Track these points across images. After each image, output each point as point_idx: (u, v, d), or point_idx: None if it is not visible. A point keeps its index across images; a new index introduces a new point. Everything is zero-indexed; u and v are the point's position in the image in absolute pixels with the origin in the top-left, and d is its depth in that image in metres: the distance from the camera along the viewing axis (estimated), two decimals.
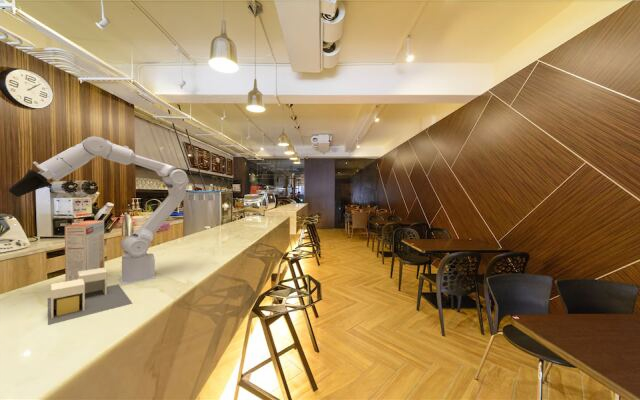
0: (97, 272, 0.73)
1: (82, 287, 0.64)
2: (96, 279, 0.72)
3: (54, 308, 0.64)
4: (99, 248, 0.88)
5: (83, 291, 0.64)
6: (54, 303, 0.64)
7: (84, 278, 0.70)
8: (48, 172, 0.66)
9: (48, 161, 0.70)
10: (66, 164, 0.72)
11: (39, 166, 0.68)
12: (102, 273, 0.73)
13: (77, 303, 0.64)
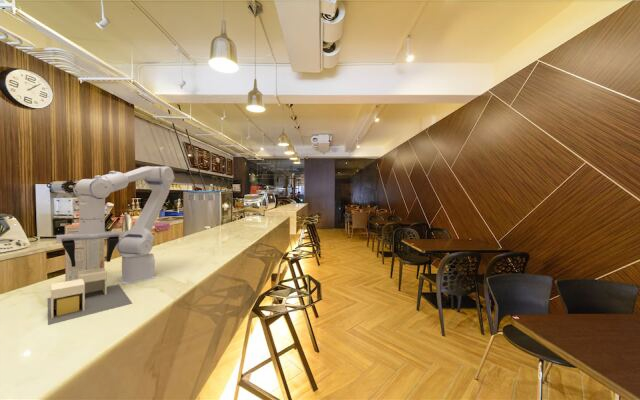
0: (97, 272, 0.73)
1: (82, 287, 0.64)
2: (96, 279, 0.72)
3: (54, 308, 0.64)
4: (99, 248, 0.88)
5: (83, 291, 0.64)
6: (54, 303, 0.64)
7: (84, 278, 0.70)
8: None
9: (99, 227, 0.73)
10: None
11: (102, 235, 0.73)
12: (102, 273, 0.73)
13: (77, 303, 0.64)
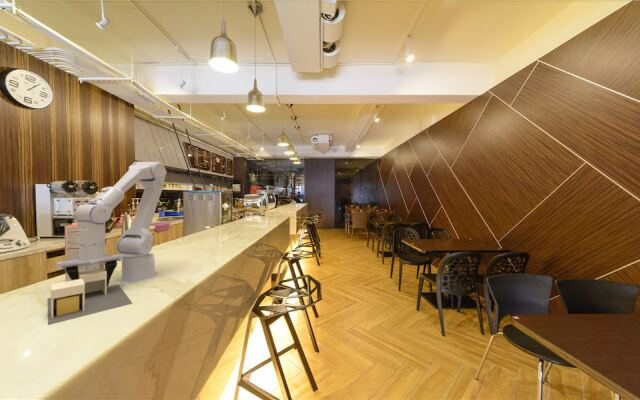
0: (97, 272, 0.73)
1: (82, 287, 0.64)
2: (96, 279, 0.72)
3: (54, 308, 0.64)
4: None
5: (83, 291, 0.64)
6: (54, 303, 0.64)
7: (84, 278, 0.70)
8: None
9: (99, 252, 0.73)
10: None
11: (102, 260, 0.74)
12: (102, 273, 0.73)
13: (77, 303, 0.64)
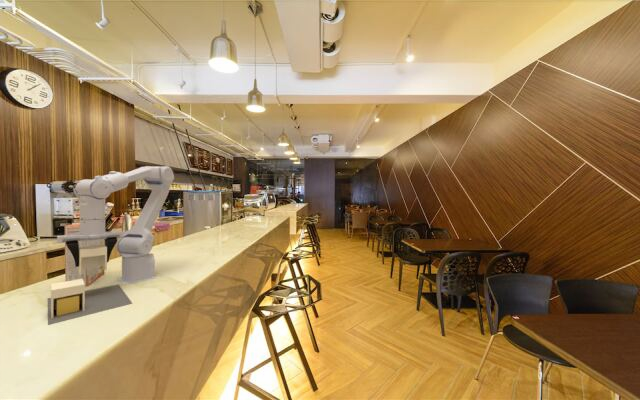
0: (97, 247, 0.73)
1: (82, 287, 0.64)
2: (96, 254, 0.72)
3: (54, 308, 0.64)
4: None
5: (83, 291, 0.64)
6: (54, 303, 0.64)
7: (85, 252, 0.70)
8: None
9: (99, 227, 0.73)
10: None
11: (103, 235, 0.73)
12: (102, 248, 0.73)
13: (77, 303, 0.64)
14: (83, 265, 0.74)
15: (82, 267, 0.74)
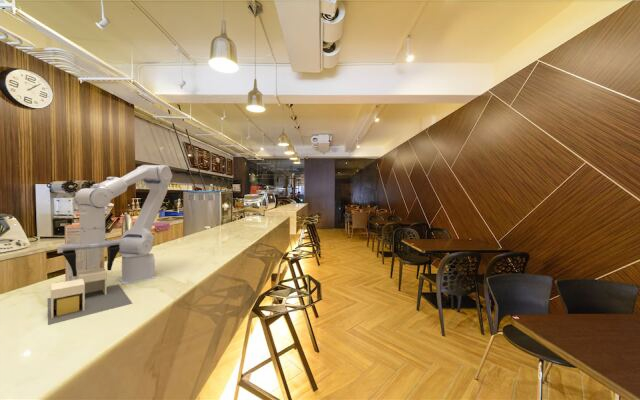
0: (97, 272, 0.73)
1: (82, 287, 0.64)
2: (96, 279, 0.72)
3: (54, 308, 0.64)
4: (99, 248, 0.88)
5: (83, 291, 0.64)
6: (54, 303, 0.64)
7: (84, 278, 0.70)
8: None
9: (99, 236, 0.73)
10: None
11: (103, 244, 0.73)
12: (102, 273, 0.73)
13: (77, 303, 0.64)
14: None
15: None
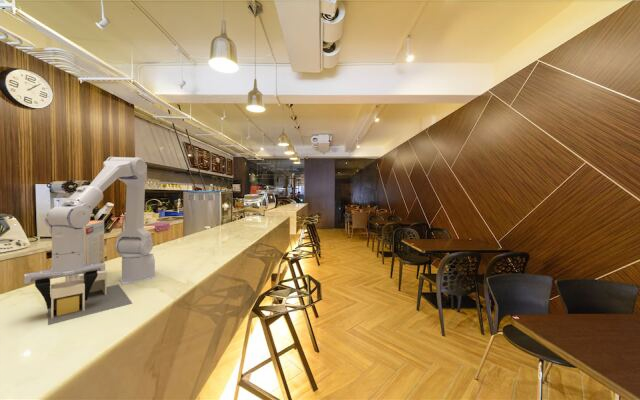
0: (97, 272, 0.73)
1: (82, 287, 0.64)
2: (96, 279, 0.72)
3: (54, 308, 0.64)
4: (99, 248, 0.88)
5: (83, 291, 0.64)
6: (54, 303, 0.64)
7: None
8: (104, 265, 0.69)
9: (76, 262, 0.63)
10: None
11: (80, 270, 0.63)
12: (102, 273, 0.73)
13: (77, 303, 0.64)
14: None
15: None
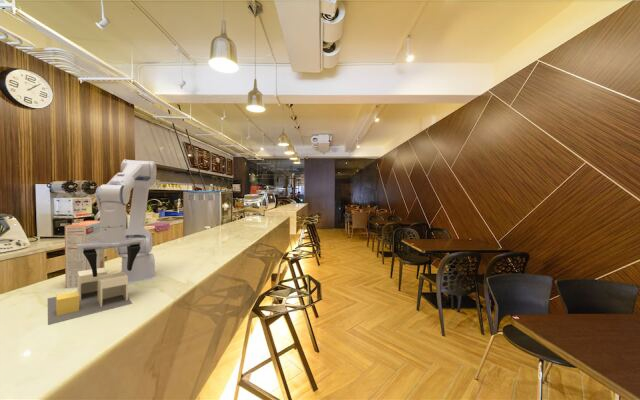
0: (97, 272, 0.73)
1: (126, 279, 0.70)
2: (96, 279, 0.72)
3: None
4: None
5: (126, 282, 0.70)
6: None
7: (84, 278, 0.70)
8: None
9: (120, 235, 0.69)
10: None
11: (124, 243, 0.70)
12: (102, 273, 0.73)
13: (77, 303, 0.64)
14: (83, 289, 0.74)
15: (82, 291, 0.74)
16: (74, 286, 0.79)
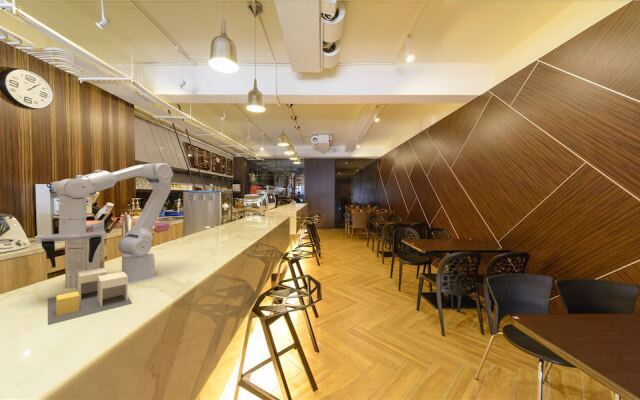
0: (97, 272, 0.73)
1: (126, 279, 0.70)
2: (96, 279, 0.72)
3: None
4: (99, 248, 0.88)
5: (126, 282, 0.70)
6: None
7: (84, 278, 0.70)
8: None
9: (80, 227, 0.72)
10: None
11: (83, 235, 0.72)
12: (102, 273, 0.73)
13: (77, 303, 0.64)
14: (83, 289, 0.74)
15: (82, 291, 0.74)
16: (74, 286, 0.79)
